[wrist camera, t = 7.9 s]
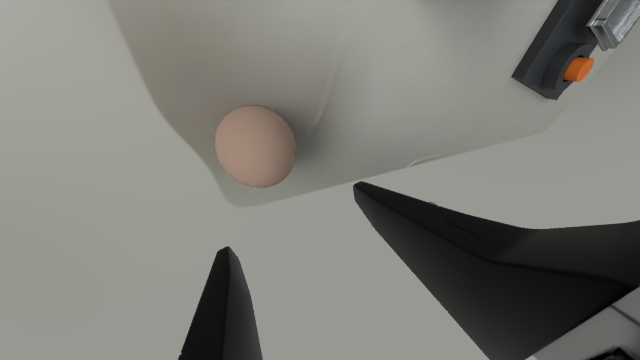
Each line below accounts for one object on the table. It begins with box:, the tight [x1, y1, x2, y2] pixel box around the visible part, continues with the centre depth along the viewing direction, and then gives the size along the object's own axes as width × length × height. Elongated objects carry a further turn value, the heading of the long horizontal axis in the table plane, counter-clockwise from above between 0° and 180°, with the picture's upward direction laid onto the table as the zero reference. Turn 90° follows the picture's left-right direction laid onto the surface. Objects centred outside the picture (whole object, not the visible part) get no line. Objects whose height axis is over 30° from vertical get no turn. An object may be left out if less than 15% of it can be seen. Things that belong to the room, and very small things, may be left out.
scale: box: [512, 0, 603, 100], centre depth 28 cm, size 15×13×3 cm
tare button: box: [563, 57, 594, 82], centre depth 28 cm, size 3×3×2 cm
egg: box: [215, 105, 296, 188], centre depth 15 cm, size 5×5×7 cm
